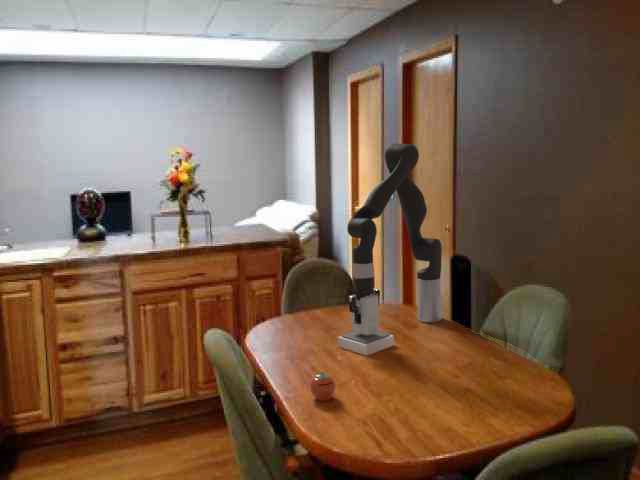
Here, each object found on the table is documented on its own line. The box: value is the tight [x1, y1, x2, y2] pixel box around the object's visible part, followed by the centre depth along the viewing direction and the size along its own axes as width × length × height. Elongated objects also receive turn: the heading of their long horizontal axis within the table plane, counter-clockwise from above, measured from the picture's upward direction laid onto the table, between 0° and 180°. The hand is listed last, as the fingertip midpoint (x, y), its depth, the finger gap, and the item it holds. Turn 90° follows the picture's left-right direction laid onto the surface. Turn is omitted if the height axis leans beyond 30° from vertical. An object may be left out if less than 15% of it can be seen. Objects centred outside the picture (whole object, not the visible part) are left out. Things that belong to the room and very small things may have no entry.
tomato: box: [309, 370, 337, 402], centre depth 161 cm, size 7×7×8 cm
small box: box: [350, 294, 381, 335], centre depth 203 cm, size 8×6×13 cm
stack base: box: [337, 331, 395, 356], centre depth 204 cm, size 14×14×4 cm
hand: (365, 321), depth 203 cm, fingers closed on small box, 6 cm apart
